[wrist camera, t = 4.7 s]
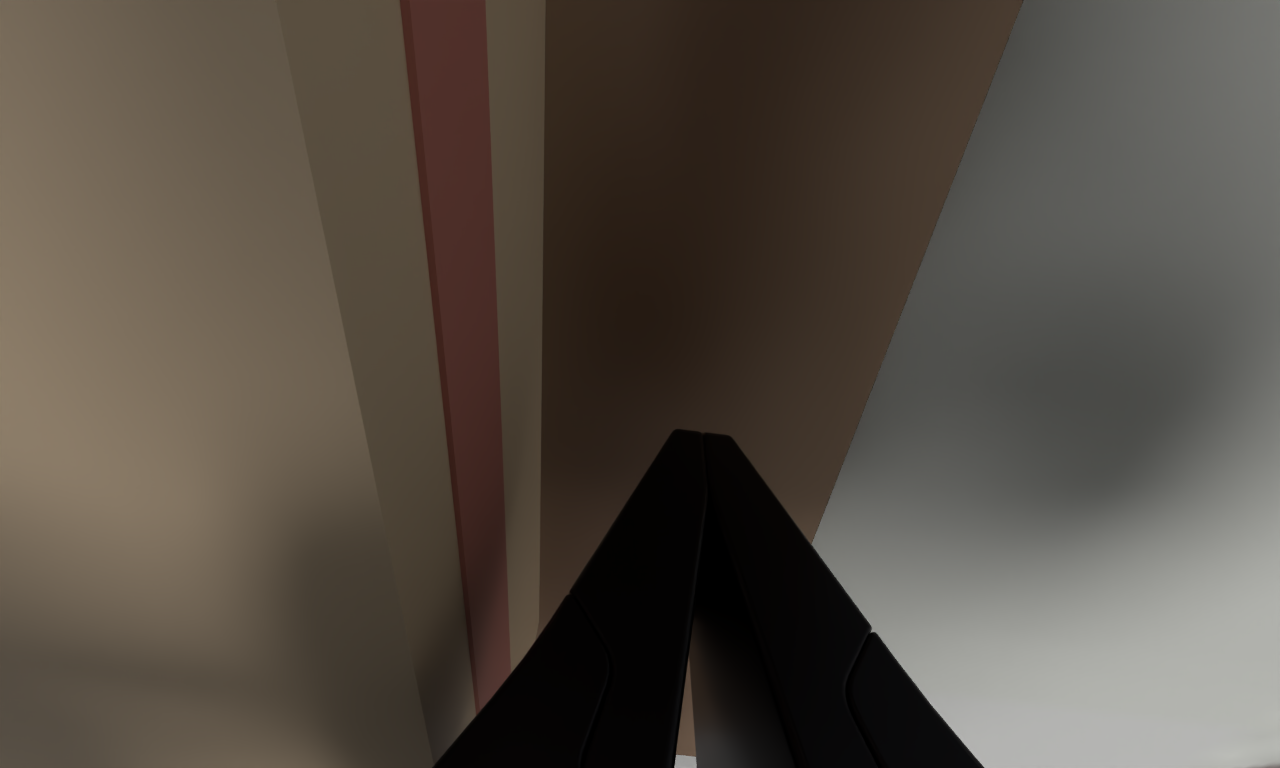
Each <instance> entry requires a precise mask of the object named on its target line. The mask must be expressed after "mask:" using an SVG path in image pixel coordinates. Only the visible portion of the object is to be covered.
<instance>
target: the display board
mask: <svg viewBox="0 0 1280 768" xmlns="http://www.w3.org/2000/svg"><path fill="white" fill-rule="evenodd" d="M1022 3H1023V0H546V12H545V109H544V206H543V303H542V400H541V495H540V587H539V625H538V629H537V634H536V638H535V641H536V639H537V638H538V636H539V635H540V633H541V632H542V631H543V629H544V628H545V626H546V625H547V623H548V622H549V621H550V619H551V617H552V616H553V614H554V613H555V611H556V610H557V608H558V607H559V605H560V604H561V602H562V601H563V599H564V597H565V596H566V595H568V594H569V591H570V589H571V587H572V586H573V584H574V583H575V581H576V579H577V578H578V576H579V575H580V573H581V572H582V570H583V569H584V567H585V566H586V564H587V562H588V561H589V559H590V558H591V556H592V555H593V553H594V552H595V550H596V549H597V547H598V545H599V544H600V542H601V541H602V539H603V538H604V536H605V535H606V533H607V531H608V530H609V528H610V527H611V525H612V524H613V522H614V521H615V519H616V518H617V516H618V514H619V513H620V511H621V510H622V508H623V507H624V505H625V504H626V502H627V501H628V499H629V497H630V496H631V494H632V493H633V491H634V490H635V488H636V487H637V485H638V483H639V482H640V480H641V479H642V477H643V476H644V474H645V473H646V471H647V470H648V468H649V466H650V465H651V463H652V462H653V460H654V459H655V457H656V456H657V454H658V453H659V451H660V449H661V448H662V446H663V445H664V443H665V442H666V440H667V439H668V437H669V435H670V434H671V432H672V431H673V430H674V429H685V430H693V431H699V432H701V433H702V434H703V433H704V432H709V433H717V434H725V435H729V436H731V437H732V438H733V439H734V440H735V441H736V443H737V444H738V446H739V447H740V448H741V450H742V451H743V452H744V454H745V455H746V456H747V458H748V459H749V460H750V462H751V463H752V465H753V466H754V467H755V469H756V470H757V471H758V473H759V474H760V475H761V477H762V478H763V480H764V481H765V482H766V484H767V485H768V486H769V488H770V489H771V490H772V492H773V493H774V495H775V496H776V497H777V499H778V500H779V501H780V503H781V504H782V505H783V507H784V508H785V509H786V511H787V512H788V514H789V515H790V516H791V518H792V519H793V520H794V522H795V523H796V524H797V526H798V527H799V529H800V530H801V531H802V533H803V534H804V535H805V537H806V538H807V539H808V541H809V542H810V544H812V542H813V539H814V536H815V534H816V531H817V529H818V526H819V524H820V521H821V518H822V516H823V513H824V511H825V508H826V506H827V503H828V500H829V498H830V495H831V493H832V490H833V488H834V485H835V482H836V480H837V477H838V475H839V472H840V470H841V467H842V465H843V462H844V459H845V457H846V454H847V452H848V449H849V447H850V444H851V441H852V439H853V436H854V434H855V431H856V429H857V426H858V423H859V421H860V418H861V416H862V413H863V411H864V408H865V406H866V403H867V400H868V398H869V395H870V393H871V390H872V388H873V385H874V382H875V380H876V377H877V375H878V372H879V370H880V367H881V364H882V362H883V359H884V357H885V354H886V352H887V349H888V347H889V344H890V341H891V339H892V336H893V334H894V331H895V329H896V326H897V323H898V321H899V318H900V316H901V313H902V311H903V308H904V305H905V303H906V300H907V298H908V295H909V293H910V290H911V288H912V285H913V282H914V280H915V277H916V275H917V272H918V270H919V267H920V264H921V262H922V259H923V257H924V254H925V252H926V249H927V246H928V244H929V241H930V239H931V236H932V234H933V231H934V228H935V226H936V223H937V221H938V218H939V216H940V213H941V211H942V208H943V205H944V203H945V200H946V198H947V195H948V193H949V190H950V187H951V185H952V182H953V180H954V177H955V175H956V172H957V169H958V167H959V164H960V162H961V159H962V157H963V154H964V152H965V149H966V146H967V144H968V141H969V139H970V136H971V134H972V131H973V128H974V126H975V123H976V121H977V118H978V116H979V113H980V110H981V108H982V105H983V103H984V100H985V98H986V95H987V93H988V90H989V87H990V85H991V82H992V80H993V77H994V75H995V72H996V69H997V67H998V64H999V62H1000V59H1001V57H1002V54H1003V51H1004V49H1005V46H1006V44H1007V41H1008V39H1009V36H1010V34H1011V31H1012V28H1013V26H1014V23H1015V21H1016V18H1017V16H1018V13H1019V10H1020V8H1021V5H1022ZM676 754H677V755H686V756H695V757H696V748H695V734H694V719H693V705H692V691H691V677H690V663H689V658H688V666H687V673H686V681H685V689H684V696H683V704H682V712H681V719H680V727H679V735H678V742H677V750H676Z"/></svg>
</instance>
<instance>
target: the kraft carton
mask: <svg viewBox="0 0 1280 768" xmlns="http://www.w3.org/2000/svg"><path fill="white" fill-rule="evenodd" d="M545 12H546V0H0V768H432V767H433V766H434V765H435V763H436V762H437V761H438V760H439V759H440V757H441V756H442V755H443V754H444V753H445V752H446V750H447V749H448V748H449V747H450V746H451V745H452V743H453V742H454V741H455V740H456V739H457V737H458V736H459V735H460V734H461V733H462V732H463V730H464V729H465V728H466V727H467V726H468V725H469V723H470V722H471V721H472V720H473V719H474V718H475V716H476V715H477V714H478V713H479V712H480V710H481V709H482V708H483V707H484V706H485V705H486V703H487V702H488V701H489V700H490V699H491V698H492V696H493V695H494V694H495V693H496V691H497V690H498V689H499V688H500V686H501V685H502V684H503V683H504V681H505V680H506V679H507V678H508V676H509V675H510V674H511V673H512V671H513V670H514V669H515V668H516V666H517V665H518V664H519V663H520V661H521V660H522V659H523V657H524V656H525V655H526V653H527V652H528V651H529V649H530V648H531V646H532V645H533V643H534V642H535V638H536V634H537V629H538V625H539V587H540V495H541V400H542V303H543V206H544V109H545Z"/></svg>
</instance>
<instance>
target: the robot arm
mask: <svg viewBox="0 0 1280 768" xmlns="http://www.w3.org/2000/svg"><path fill="white" fill-rule="evenodd" d="M871 630H872V627H871V625H870V624H869V622H868V621H867V620H866V618H865V617H864V616H863V614H862V613H861V612H860V610H859V609H858V607H857V606H856V605H855V603H854V602H853V601H852V599H851V598H850V597H849V595H848V594H847V592H846V591H845V590H844V588H843V587H842V586H841V584H840V583H839V582H838V580H837V579H836V578H835V576H834V575H833V573H832V572H831V571H830V569H829V568H828V567H827V565H826V564H825V563H824V561H823V560H822V558H821V557H820V556H819V554H818V553H817V552H816V550H815V549H814V548H813V546H812V545H811V544H810V542H809V541H808V539H807V538H806V537H805V535H804V534H803V533H802V531H801V530H800V529H799V527H798V526H797V524H796V523H795V522H794V520H793V519H792V518H791V516H790V515H789V514H788V512H787V511H786V509H785V508H784V507H783V505H782V504H781V503H780V501H779V500H778V499H777V497H776V496H775V495H774V493H773V492H772V490H771V489H770V488H769V486H768V485H767V484H766V482H765V481H764V480H763V478H762V477H761V475H760V474H759V473H758V471H757V470H756V469H755V467H754V466H753V465H752V463H751V462H750V460H749V459H748V458H747V456H746V455H745V454H744V452H743V451H742V450H741V448H740V447H739V446H738V444H737V443H736V441H735V440H734V439H733V438H732V437H731V436H729V435H725V434H717V433H709V432H704V433H703V434H702V433H701V432H699V431H693V430H685V429H674V430H673V431H672V432H671V434H670V435H669V437H668V439H667V440H666V442H665V443H664V445H663V446H662V448H661V449H660V451H659V453H658V454H657V456H656V457H655V459H654V460H653V462H652V463H651V465H650V466H649V468H648V470H647V471H646V473H645V474H644V476H643V477H642V479H641V480H640V482H639V483H638V485H637V487H636V488H635V490H634V491H633V493H632V494H631V496H630V497H629V499H628V501H627V502H626V504H625V505H624V507H623V508H622V510H621V511H620V513H619V514H618V516H617V518H616V519H615V521H614V522H613V524H612V525H611V527H610V528H609V530H608V531H607V533H606V535H605V536H604V538H603V539H602V541H601V542H600V544H599V545H598V547H597V549H596V550H595V552H594V553H593V555H592V556H591V558H590V559H589V561H588V562H587V564H586V566H585V567H584V569H583V570H582V572H581V573H580V575H579V576H578V578H577V579H576V581H575V583H574V584H573V586H572V587H571V589H570V591H569V594H568V595H566V596H565V597H564V599H563V601H562V602H561V604H560V605H559V607H558V608H557V610H556V611H555V613H554V614H553V616H552V617H551V619H550V621H549V622H548V623H547V625H546V626H545V628H544V629H543V631H542V632H541V633H540V635H539V636H538V638H537V639H536V641H535V642H534V643H533V645H532V646H531V648H530V649H529V651H528V652H527V653H526V655H525V656H524V657H523V659H522V660H521V661H520V663H519V664H518V665H517V666H516V668H515V669H514V670H513V671H512V673H511V674H510V675H509V676H508V678H507V679H506V680H505V681H504V683H503V684H502V685H501V686H500V688H499V689H498V690H497V691H496V693H495V694H494V695H493V696H492V698H491V699H490V700H489V701H488V702H487V703H486V705H485V706H484V707H483V708H482V709H481V710H480V712H479V713H478V714H477V715H476V716H475V718H474V719H473V720H472V721H471V722H470V723H469V725H468V726H467V727H466V728H465V729H464V730H463V732H462V733H461V734H460V735H459V736H458V737H457V739H456V740H455V741H454V742H453V743H452V745H451V746H450V747H449V748H448V749H447V750H446V752H445V753H444V754H443V755H442V756H441V757H440V759H439V760H438V761H437V762H436V763H435V765H434V766H433V767H432V768H674V765H675V758H676V750H677V742H678V735H679V727H680V719H681V712H682V704H683V696H684V689H685V681H686V673H687V666H688V658H689V663H690V677H691V691H692V705H693V719H694V734H695V748H696V762H697V768H984V767H983V766H982V764H981V763H980V762H979V761H978V760H977V759H976V758H975V756H974V755H973V754H972V753H971V752H970V751H969V749H968V748H967V747H966V746H965V745H964V743H963V742H962V741H961V740H960V739H959V737H958V736H957V735H956V734H955V733H954V731H953V730H952V729H951V728H950V727H949V726H948V724H947V723H946V722H945V721H944V720H943V718H942V717H941V716H940V715H939V714H938V712H937V711H936V710H935V709H934V708H933V707H932V705H931V704H930V703H929V702H928V700H927V699H926V698H925V696H924V695H923V694H922V692H921V691H920V690H919V689H918V687H917V686H916V685H915V683H914V682H913V681H912V680H911V678H910V677H909V676H908V674H907V673H906V672H905V670H904V669H903V668H902V667H901V665H900V664H899V663H898V661H897V660H896V659H895V657H894V656H893V655H892V653H891V652H890V651H889V649H888V648H887V646H886V645H885V644H884V642H883V641H882V640H881V638H880V637H879V636H878V634H877V633H875V632H872V633H870V632H871Z"/></svg>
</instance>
